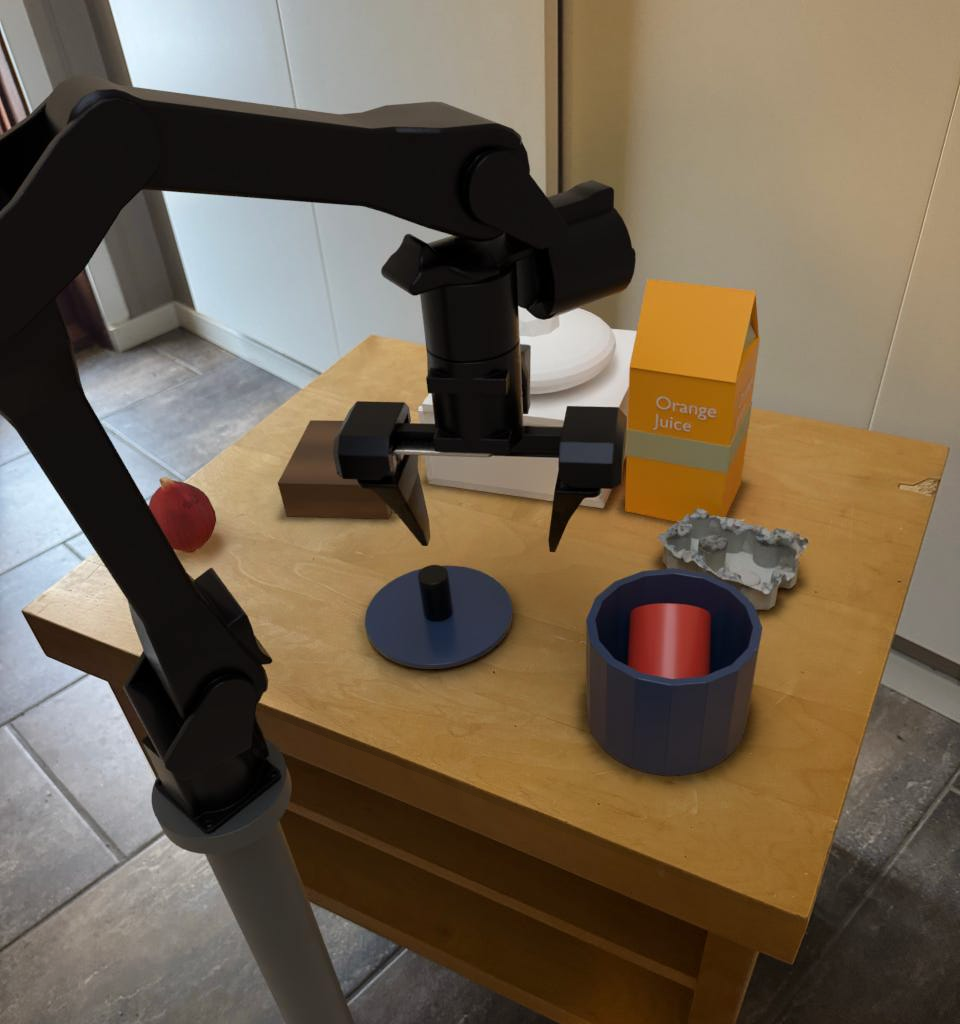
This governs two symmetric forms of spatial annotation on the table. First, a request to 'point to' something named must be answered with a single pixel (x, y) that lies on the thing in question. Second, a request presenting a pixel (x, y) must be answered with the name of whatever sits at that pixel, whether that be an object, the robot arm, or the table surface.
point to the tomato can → (670, 640)
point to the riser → (324, 480)
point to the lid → (438, 617)
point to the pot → (663, 701)
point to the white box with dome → (548, 401)
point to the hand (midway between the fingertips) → (489, 545)
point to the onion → (183, 514)
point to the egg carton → (735, 554)
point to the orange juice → (689, 398)
